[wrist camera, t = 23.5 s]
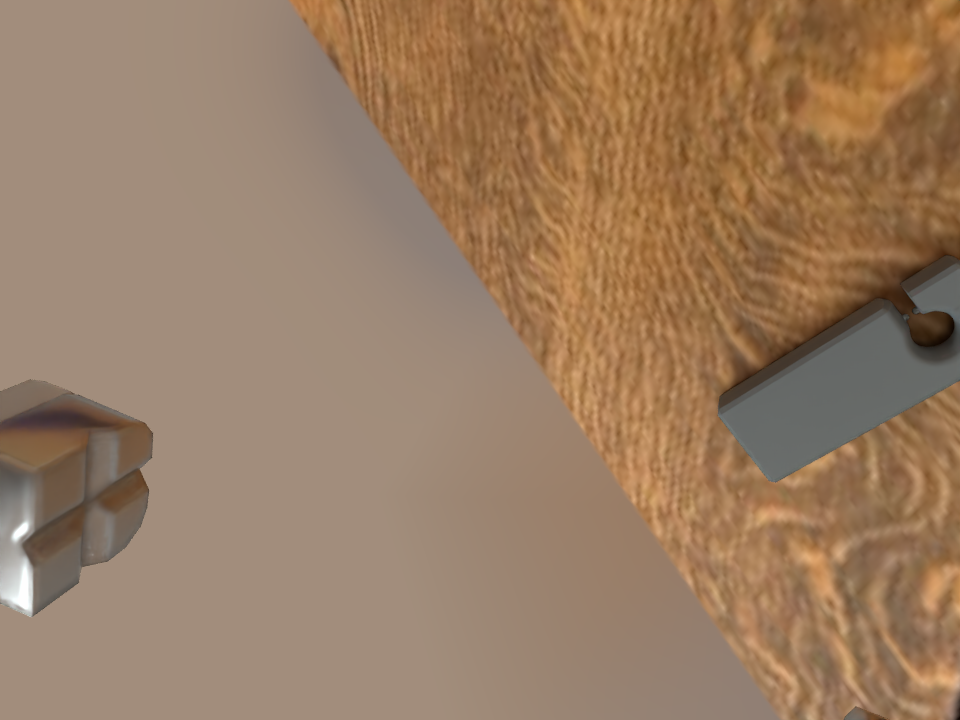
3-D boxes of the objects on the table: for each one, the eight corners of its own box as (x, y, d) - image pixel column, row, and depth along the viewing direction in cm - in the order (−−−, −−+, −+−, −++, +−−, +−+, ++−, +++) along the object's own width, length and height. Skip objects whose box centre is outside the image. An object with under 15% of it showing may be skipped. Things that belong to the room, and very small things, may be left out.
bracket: (715, 396, 35) (714, 413, 33) (948, 249, 31) (961, 260, 29) (770, 466, 35) (772, 487, 33) (1009, 331, 31) (1026, 346, 29)
